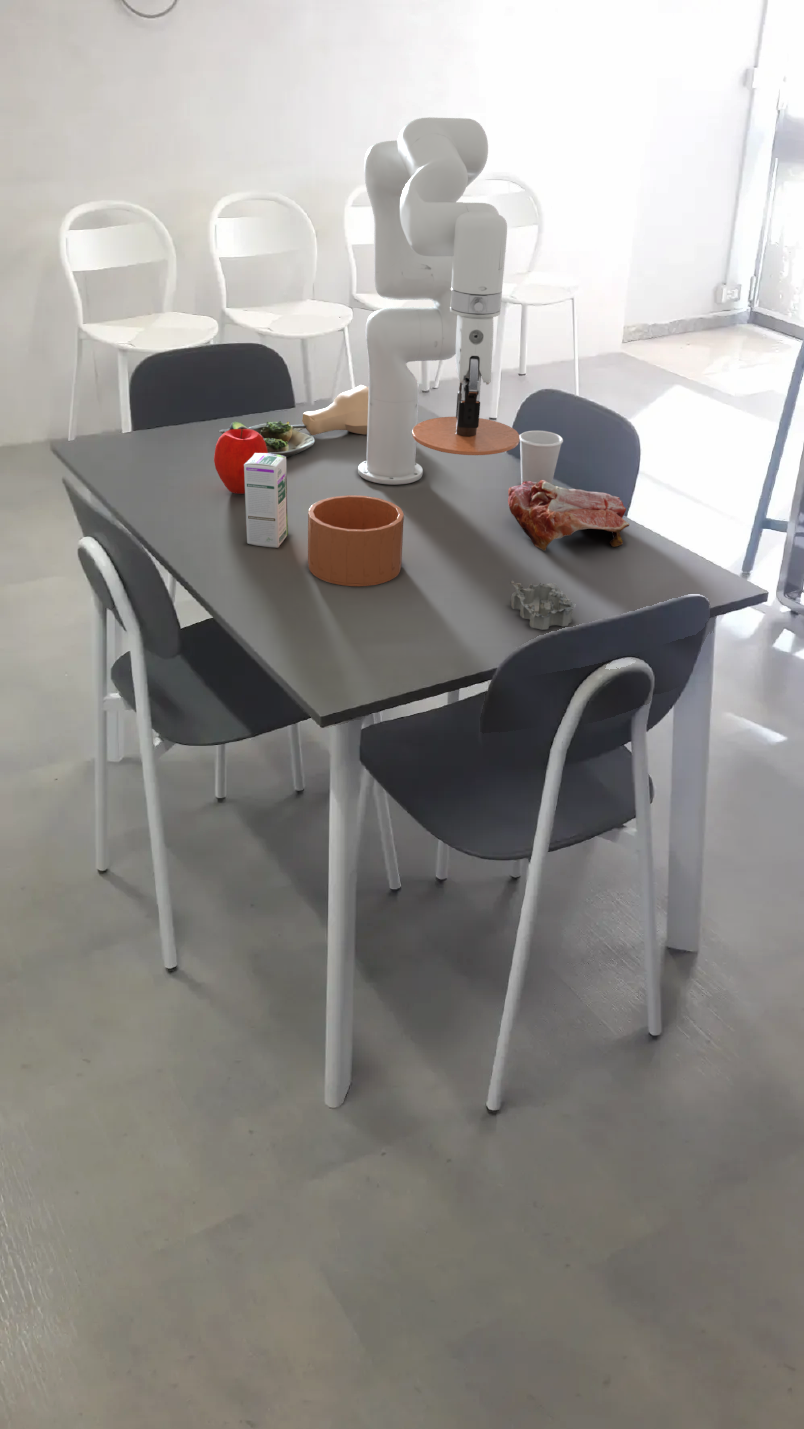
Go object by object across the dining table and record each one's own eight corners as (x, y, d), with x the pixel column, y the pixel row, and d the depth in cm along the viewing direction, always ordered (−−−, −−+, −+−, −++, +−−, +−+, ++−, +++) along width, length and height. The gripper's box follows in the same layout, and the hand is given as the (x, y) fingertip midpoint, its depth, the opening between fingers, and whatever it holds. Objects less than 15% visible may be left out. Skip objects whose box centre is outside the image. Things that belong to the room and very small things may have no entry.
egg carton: (505, 602, 199) (507, 578, 197) (549, 598, 201) (552, 574, 199) (531, 632, 190) (534, 608, 188) (577, 627, 192) (580, 603, 190)
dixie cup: (506, 482, 245) (511, 432, 240) (544, 478, 248) (549, 428, 243) (527, 497, 238) (532, 446, 233) (565, 493, 241) (571, 442, 236)
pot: (309, 546, 214) (309, 494, 209) (399, 549, 215) (402, 496, 210) (306, 585, 201) (306, 529, 196) (402, 587, 202) (405, 532, 197)
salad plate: (280, 423, 269) (280, 402, 267) (336, 446, 259) (337, 424, 256) (207, 441, 257) (206, 419, 255) (262, 466, 247) (262, 443, 244)
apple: (234, 506, 228) (232, 441, 222) (204, 489, 235) (201, 426, 228) (279, 494, 234) (278, 430, 228) (248, 479, 240) (246, 416, 234)
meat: (560, 500, 238) (566, 449, 233) (650, 535, 225) (658, 482, 220) (483, 526, 226) (488, 472, 220) (574, 565, 213) (581, 509, 207)
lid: (410, 421, 204) (412, 374, 200) (513, 425, 205) (517, 378, 201) (413, 457, 190) (416, 407, 186) (524, 461, 191) (529, 411, 187)
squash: (403, 434, 268) (404, 396, 262) (317, 454, 261) (316, 416, 255) (380, 410, 275) (381, 373, 269) (296, 430, 268) (295, 392, 262)
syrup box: (278, 548, 213) (278, 466, 205) (245, 544, 214) (243, 462, 206) (288, 535, 218) (287, 455, 210) (255, 531, 219) (253, 451, 211)
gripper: (506, 316, 180) (495, 441, 189) (495, 290, 194) (486, 407, 203) (453, 314, 179) (445, 439, 189) (447, 288, 193) (440, 406, 203)
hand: (467, 421), depth 196 cm, fingers closed on lid, 3 cm apart
